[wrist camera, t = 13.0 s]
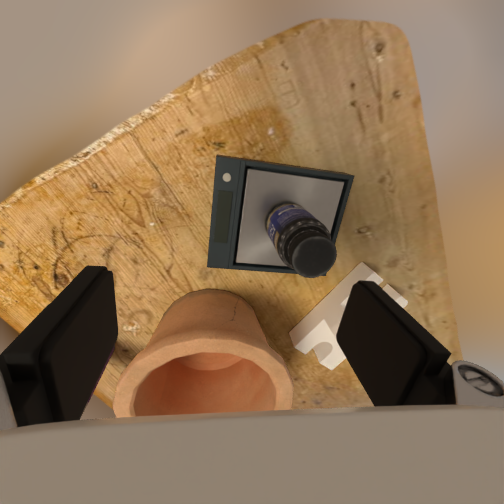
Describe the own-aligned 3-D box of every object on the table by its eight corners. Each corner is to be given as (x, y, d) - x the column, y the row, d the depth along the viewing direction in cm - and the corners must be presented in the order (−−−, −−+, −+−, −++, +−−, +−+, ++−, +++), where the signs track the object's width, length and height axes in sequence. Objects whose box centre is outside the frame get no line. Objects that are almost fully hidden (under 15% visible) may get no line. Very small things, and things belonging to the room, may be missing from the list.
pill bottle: (257, 216, 35) (273, 248, 25) (297, 193, 34) (330, 216, 24) (278, 252, 37) (300, 294, 27) (315, 230, 37) (352, 265, 27)
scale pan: (235, 260, 38) (235, 262, 37) (247, 168, 33) (248, 168, 32) (318, 266, 40) (320, 269, 39) (341, 181, 35) (344, 182, 34)
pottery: (115, 318, 42) (68, 400, 29) (231, 249, 39) (237, 305, 26) (194, 391, 51) (186, 480, 37) (293, 339, 48) (321, 414, 35)
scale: (207, 258, 40) (206, 268, 37) (216, 154, 34) (216, 156, 31) (318, 267, 42) (326, 276, 40) (344, 172, 37) (355, 176, 34)
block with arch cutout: (324, 354, 51) (350, 408, 41) (288, 332, 47) (307, 385, 37) (395, 290, 46) (444, 333, 36) (361, 261, 43) (405, 298, 33)
